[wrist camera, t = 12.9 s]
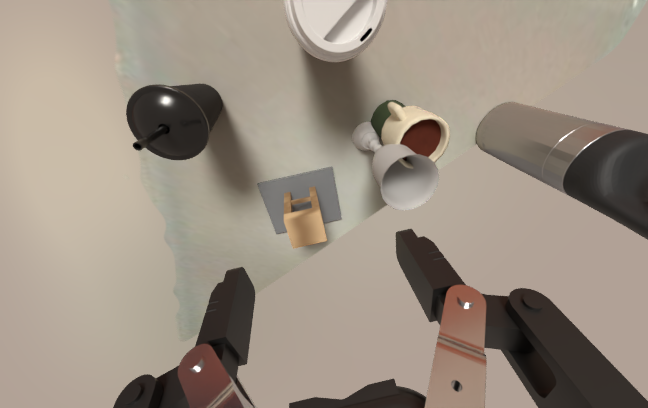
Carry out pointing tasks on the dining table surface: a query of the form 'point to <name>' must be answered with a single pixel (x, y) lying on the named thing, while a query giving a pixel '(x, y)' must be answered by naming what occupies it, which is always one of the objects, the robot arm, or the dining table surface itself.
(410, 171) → the chalice
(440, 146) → the character mug
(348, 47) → the coffee cup
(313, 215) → the light wood stool
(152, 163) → the dining table surface
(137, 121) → the drinking cup
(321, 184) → the mat
